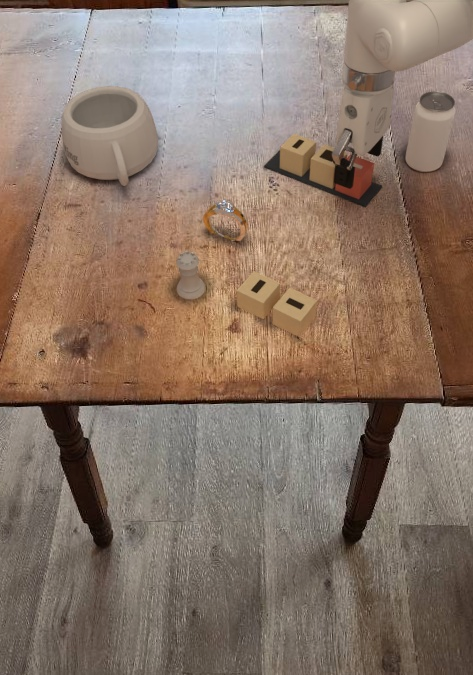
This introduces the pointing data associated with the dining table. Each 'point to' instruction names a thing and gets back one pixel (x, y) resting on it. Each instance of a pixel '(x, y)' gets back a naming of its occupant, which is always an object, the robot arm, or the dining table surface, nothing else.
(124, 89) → the mug
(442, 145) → the can
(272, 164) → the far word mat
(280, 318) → the slotted blocks
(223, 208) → the ring
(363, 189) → the red block
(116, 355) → the dining table surface
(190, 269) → the rook chess piece
